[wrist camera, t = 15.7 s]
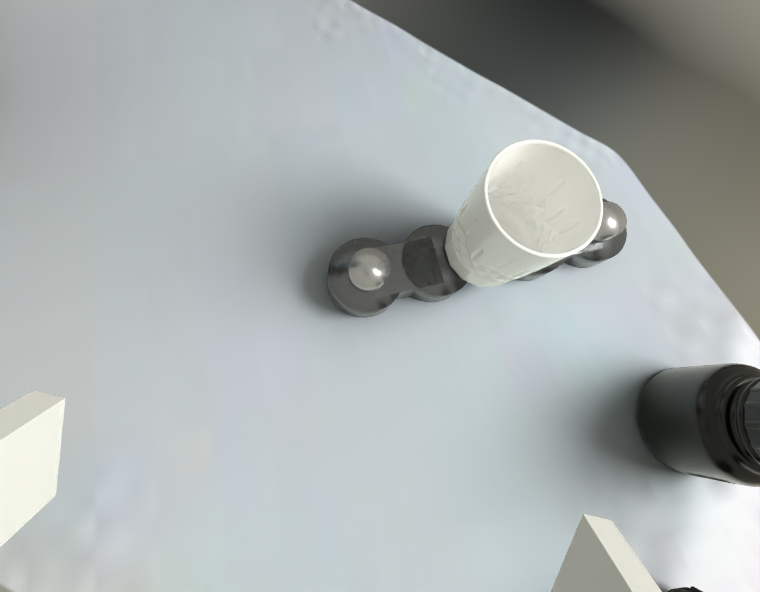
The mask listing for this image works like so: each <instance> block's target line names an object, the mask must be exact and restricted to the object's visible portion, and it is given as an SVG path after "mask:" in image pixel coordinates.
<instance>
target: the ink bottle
mask: <svg viewBox="0 0 760 592" xmlns="http://www.w3.org/2000/svg"><path fill="white" fill-rule="evenodd" d="M638 424H639V428H640V431H641V434H642V436H643V439H644V440H645V442H646V444H647V446H648V447H649V448H650V450H651V451H652V452H653V454H654V455H655V456H656V457H657V458H658V459H659V460H660V461H662V462H663V463H664V464H665V465H667V466H668V467H670V468H672V469H674V470H676V471H679V472H681V473H685V474H688V475H689V474H690V475H693V476H694V475H695V476H698V477H703V478H709V479H713V480H718V481H723V482H728V483H733V484H740V485H745V486H753V487H760V369H758V368H755V367H752V366H749V365H745V364H737V363H729V364H716V365H704V366H692V367H680V368H671V369H667V370H664V371H662V372H660V373H658V374H657V375H655V376H654V377H653V378H652V379H651V380H650V381H649V382H648V383H647V385H646V386H645V388H644V390H643V392H642V394H641V397H640V400H639V404H638Z"/></svg>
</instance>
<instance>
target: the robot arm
mask: <svg viewBox="0 0 760 592" xmlns="http://www.w3.org/2000/svg"><path fill="white" fill-rule="evenodd" d="M64 407H65V398H63V397H59V396H54V395H50V394H45V393H41V392H36V391H32V392H30V393H28V394H26V395H25V396H23V397H21V398H19V399H18V400H16V401H14V402H12V403H11V404H9V405H7V406H5V407H3V408H2V409H0V547H1V546H2V545H3V544H4V543H5V542H6V541H7V540H8V539H9V538H10V537H12V536H13V535H14V534H15V533H16V532H17V531H18V530H19V529H20V528H21V527H22V526H23V525H24V524H25V523H27V522H28V521H29V520H30V519H31V518H32V517H33V516H34V515H35V514H36V513H37V512H38V511H39V510H40V509H42V508H43V507H44V506H45V505H46V504H47V503H48V502H49V501H50V500H51V499H52V498H53V497H54V496H56V488H57V478H58V468H59V457H60V447H61V437H62V427H63V417H64ZM551 592H662V591H661V590H660V589H659V587H658V586H657V584H656V583H655V581H654V580H653V579H652V577H651V576H650V574H649V573H648V572H647V570H646V569H645V567H644V566H643V564H642V563H641V562H640V560H639V559H638V557H637V556H636V555H635V553H634V552H633V550H632V549H631V547H630V546H629V545H628V543H627V542H626V540H625V539H624V537H623V536H622V535H621V533H620V532H619V530H618V529H617V528H616V526H615V525H614V523H613V522H612V520H608V519H604V518H599V517H595V516H590V515H586V514H583V515H582V518H581V520H580V523H579V525H578V527H577V530H576V532H575V535H574V537H573V539H572V542H571V544H570V547H569V549H568V552H567V554H566V556H565V559H564V561H563V564H562V566H561V568H560V571H559V573H558V576H557V578H556V581H555V583H554V585H553V588H552V590H551Z"/></svg>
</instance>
